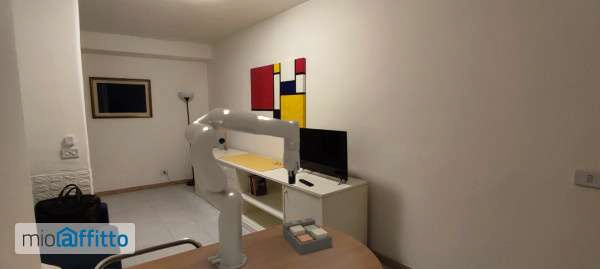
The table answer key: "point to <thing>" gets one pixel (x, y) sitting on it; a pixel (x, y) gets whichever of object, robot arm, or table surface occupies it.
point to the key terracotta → (304, 238)
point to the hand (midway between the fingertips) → (291, 183)
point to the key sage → (309, 228)
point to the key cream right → (319, 233)
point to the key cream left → (297, 230)
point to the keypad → (307, 246)
